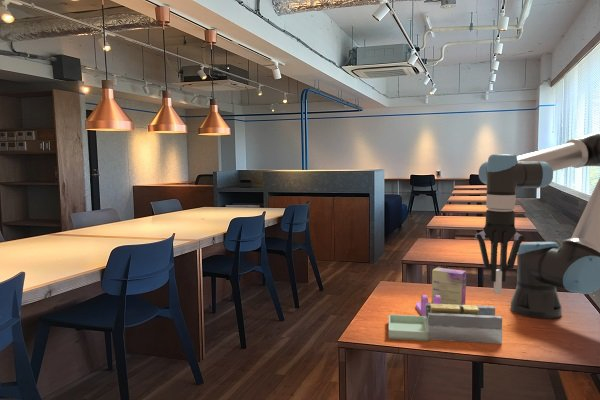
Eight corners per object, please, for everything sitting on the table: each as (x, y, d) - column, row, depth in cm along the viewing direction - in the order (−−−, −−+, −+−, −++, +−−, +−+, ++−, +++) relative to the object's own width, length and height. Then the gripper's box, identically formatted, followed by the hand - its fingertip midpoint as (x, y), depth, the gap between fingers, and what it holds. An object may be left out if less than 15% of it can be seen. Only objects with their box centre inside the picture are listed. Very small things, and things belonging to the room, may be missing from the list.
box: (465, 303, 169) (466, 270, 168) (461, 308, 165) (462, 273, 164) (436, 299, 175) (436, 266, 174) (431, 303, 170) (431, 270, 169)
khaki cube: (444, 317, 143) (444, 304, 142) (445, 322, 139) (445, 308, 139) (430, 316, 144) (430, 303, 143) (431, 321, 140) (431, 307, 139)
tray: (425, 324, 149) (425, 316, 149) (428, 341, 135) (428, 332, 135) (388, 322, 151) (388, 314, 151) (388, 338, 137) (388, 330, 137)
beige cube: (476, 319, 141) (476, 305, 141) (478, 323, 137) (478, 309, 137) (461, 318, 142) (462, 305, 142) (463, 322, 138) (464, 309, 138)
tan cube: (458, 318, 142) (458, 304, 142) (460, 322, 138) (460, 309, 138) (444, 317, 143) (444, 304, 142) (445, 322, 139) (445, 308, 139)
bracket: (441, 318, 155) (441, 296, 154) (423, 318, 155) (423, 297, 154) (430, 305, 168) (430, 286, 167) (414, 305, 168) (414, 286, 167)
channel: (492, 328, 144) (493, 305, 144) (502, 343, 133) (502, 318, 132) (425, 325, 148) (425, 302, 147) (428, 339, 136) (428, 315, 136)
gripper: (521, 208, 138) (518, 290, 140) (473, 208, 140) (471, 288, 142) (529, 211, 131) (525, 297, 132) (478, 210, 133) (475, 295, 135)
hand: (497, 292), depth 137 cm, fingers closed
